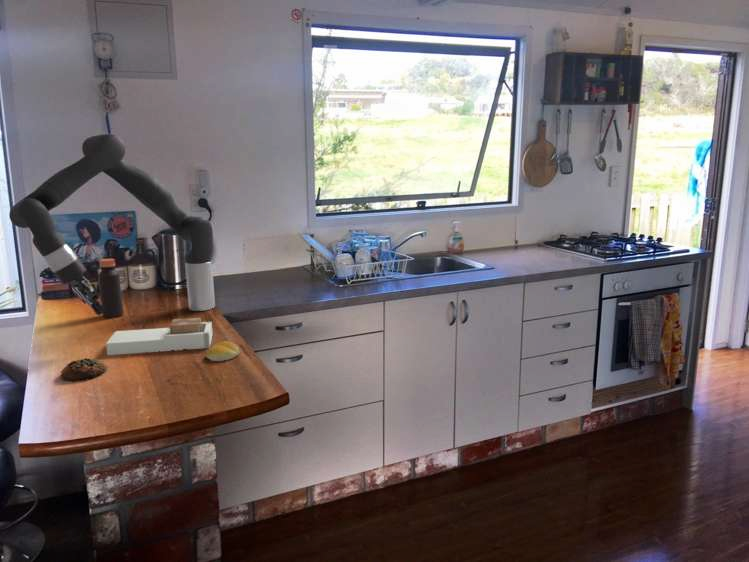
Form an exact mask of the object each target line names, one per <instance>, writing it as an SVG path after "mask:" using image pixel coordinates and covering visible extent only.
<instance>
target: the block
mask: <svg viewBox="0 0 749 562" xmlns="http://www.w3.org/2000/svg"><path fill="white" fill-rule="evenodd" d="M201 322H202V318H201V317H195V318H194V317H193V318H175V319H174V318H173V319H172V321H171V323H170V325H169V328H170V330H171V334H186V333H200V332H202V329H201Z"/></svg>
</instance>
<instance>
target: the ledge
mask: <svg viewBox="0 0 749 562" xmlns="http://www.w3.org/2000/svg"><path fill="white" fill-rule="evenodd" d="M165 335H171V331H170V327H161V328H147V329H145V328H144V329H132V330H117V331H115V332H114V333H113V334H112V335H111V337H110V338H109V339H108V340H107V342H106V343H105V345H106V354H107V356H116V355H117V356H118V355H130V354H131V355H133V354H144V353H146V352H147V353H157V352H159V351H160V352H167V351H166V344H165ZM147 353H146V354H147Z"/></svg>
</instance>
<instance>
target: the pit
mask: <svg viewBox="0 0 749 562" xmlns="http://www.w3.org/2000/svg"><path fill="white" fill-rule="evenodd" d="M212 324H213V322H212V321H204V322H202V321H201V329H202V332H200V333H186V334H171V335H165V344H166V351H165V352H170V351H171V350H174V351H184V350H183V349H187V350H196V349H197V350H199V349H200V350H201V349H209V348H210V347H211V343H212V340H213V337H212V336H213V335H214V334H213V325H212ZM170 331H171V330H170ZM171 352H172V351H171Z"/></svg>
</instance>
